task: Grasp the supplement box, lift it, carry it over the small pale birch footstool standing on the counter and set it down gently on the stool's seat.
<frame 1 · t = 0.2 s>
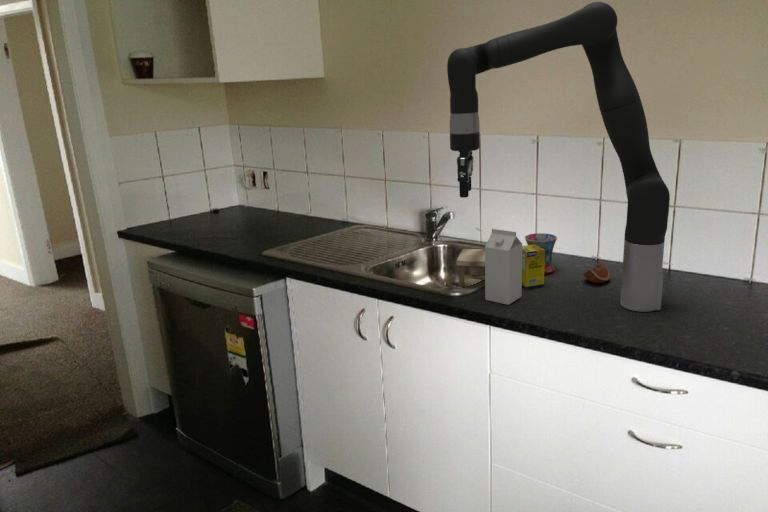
hand: (465, 193, 167), 28 cm above the worktop, fingers open, 8 cm apart
stool: (480, 281, 187), on the worktop
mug: (542, 270, 194), on the worktop
fruit slice: (595, 282, 182), on the worktop
grey slanted-top block: (503, 299, 173), on the worktop
supplement box: (529, 285, 182), on the worktop
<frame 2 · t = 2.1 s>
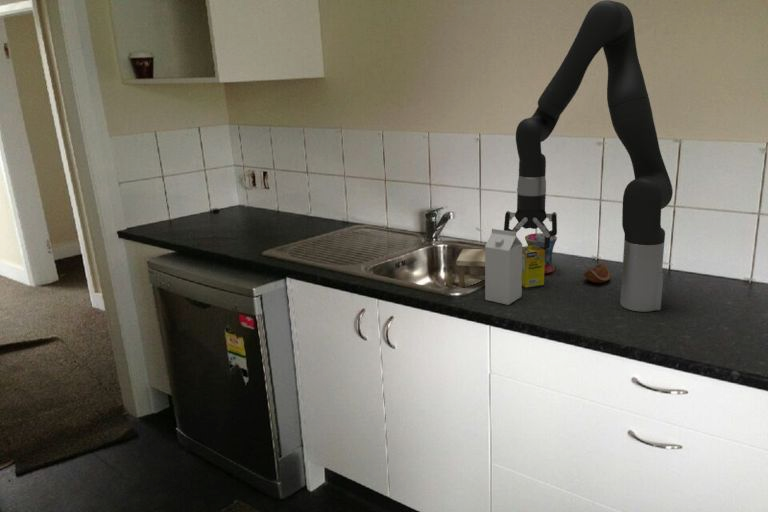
hand: (529, 248, 179), 11 cm above the worktop, fingers open, 8 cm apart
supplement box: (529, 286, 182), on the worktop, touching gripper
everything else where it was.
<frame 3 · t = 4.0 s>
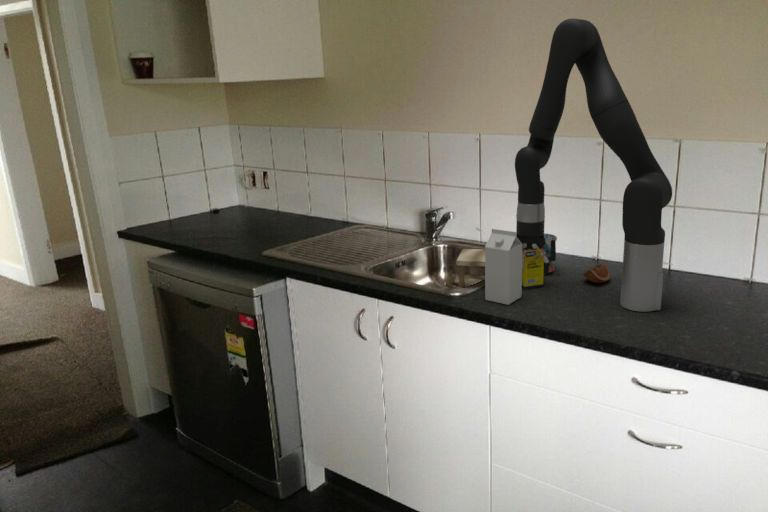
hand: (529, 274, 181), 3 cm above the worktop, fingers closed on supplement box, 8 cm apart
supplement box: (529, 285, 182), on the worktop, touching gripper
everything else where it was.
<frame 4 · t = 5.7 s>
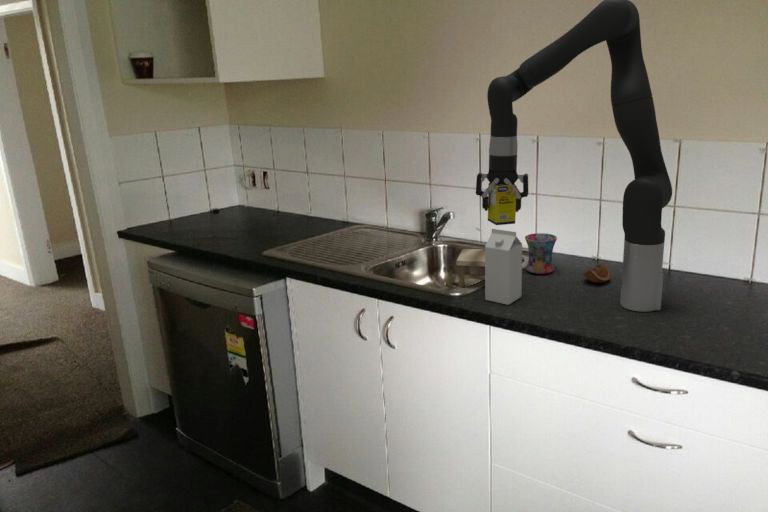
hand: (501, 210, 179), 21 cm above the worktop, fingers closed on supplement box, 8 cm apart
supplement box: (501, 222, 180), point 18 cm above the worktop, touching gripper
everything else where it was.
when the fingers open (12 cm above the worktop, at t = 8.6 s): supplement box stays where it is, resting on stool.
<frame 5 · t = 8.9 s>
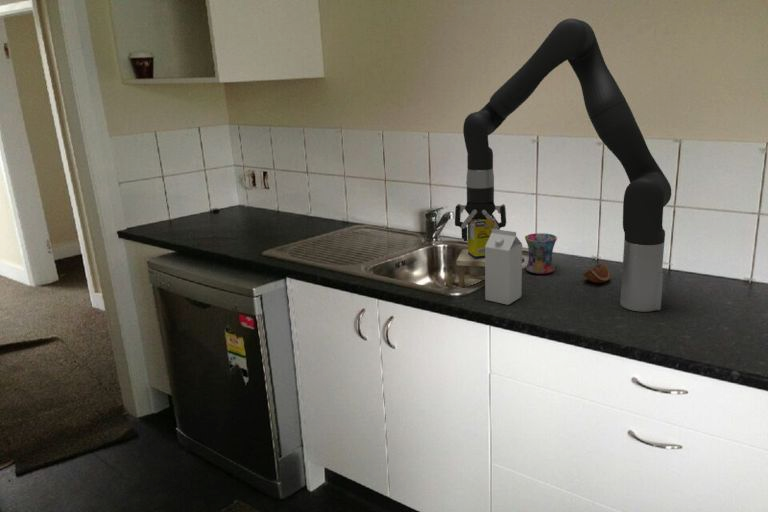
hand: (480, 240, 183), 12 cm above the worktop, fingers open, 8 cm apart
supplement box: (481, 256, 184), point 8 cm above the worktop, touching stool
everything else where it was.
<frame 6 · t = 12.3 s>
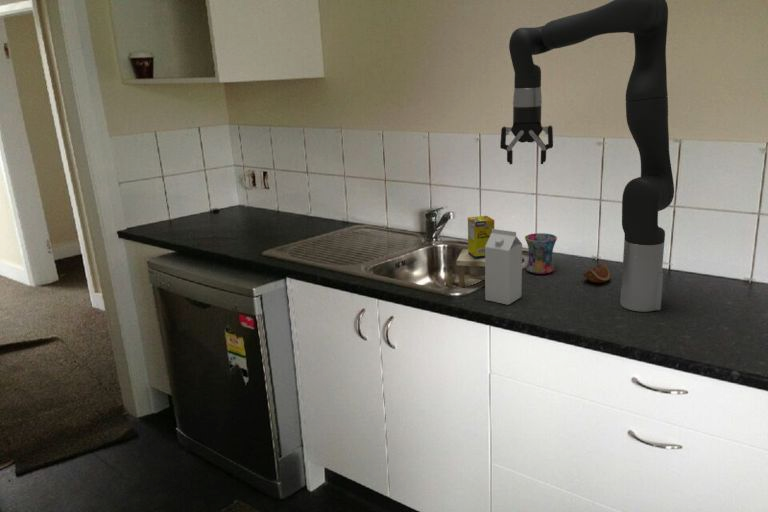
hand: (526, 163, 181), 33 cm above the worktop, fingers open, 8 cm apart
nothing on the worktop moved.
at the end: supplement box inside the target area on the stool (0.3 cm from its centre), point 7.8 cm above the stool's base; supplement box tilted 0°; the gripper is holding nothing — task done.
